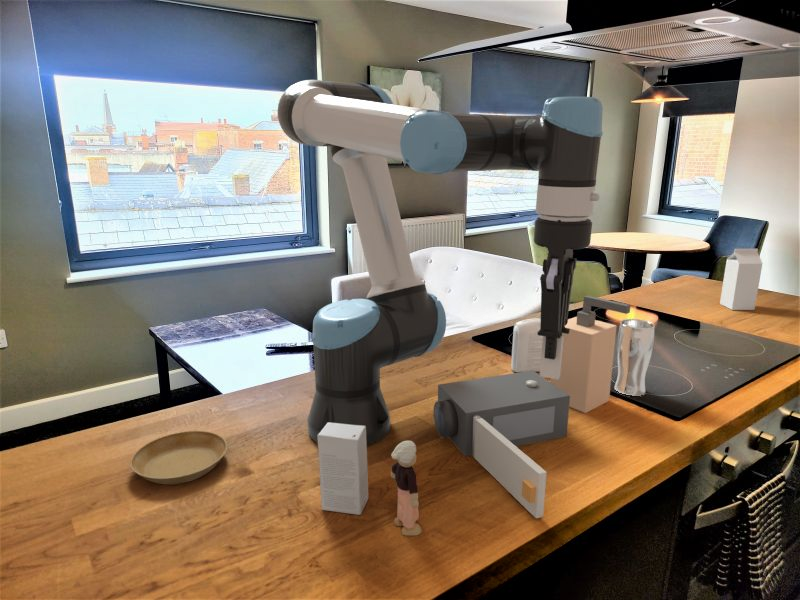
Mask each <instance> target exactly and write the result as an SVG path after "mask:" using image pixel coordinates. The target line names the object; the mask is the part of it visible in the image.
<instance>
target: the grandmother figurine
mask: <svg viewBox="0 0 800 600" xmlns="http://www.w3.org/2000/svg"><path fill="white" fill-rule="evenodd" d="M416 452H417V445H416V444H415V442H414V441H412V440H403V441H401V442H400V443H398V444H397V445H396V446H395V448H394V450H393V451H392V452H391V455H390V456H391V457H392V459H393V460H397V461H396V462H395V463H394V464H392V465H391V472H390V477H391V478H392V479H395V484H396V486H397V512H396V513H397V517H395V518H394V520H393V523H394V524H395V526H397V527H402V528H401V534H402V535H404V536H407V537H409V536H420V535H421V534H422V532H423V530H422V527H421V525H420V524H419V523H418V522H416V521H418V520H419V518H420V514H419V513H420V512H419V487H418V483H417V482H418V481H417V472H416V471H415V468H414V467H413V466H414V465H415V464H416V461H417V454H416Z"/></svg>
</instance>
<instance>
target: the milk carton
mask: <svg viewBox="0 0 800 600" xmlns="http://www.w3.org/2000/svg"><path fill="white" fill-rule="evenodd" d="M762 270H763V262H762V258H761V257H760V255H759V249H758V248H734V251H733V253H732V254H731V255H729V256H728V257H727V258H726V263H725V268H724V273H723V282H722V288H721V293H720V300H719V304H720V305H722V306H724V307H725V308H728V309H729V310H731V311H755V309H756V303H757V298H758V292H759V285H760V281H761V274H762Z"/></svg>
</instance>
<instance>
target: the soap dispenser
mask: <svg viewBox="0 0 800 600" xmlns="http://www.w3.org/2000/svg"><path fill="white" fill-rule="evenodd" d="M592 307H597V308H600V309H604V310H608V311H609V310H610V311H613V312H617V313H621V314H626V315H627V314H630V313H631V312H630V311H631V304H627V303H623V302H618V301H614V300H610V299H606V298H600V297H596V296H591V295H585V296H583V301H582V310H580V311H577V315H576V316H574V317H572V318H568V319H567V320H568V323H567V325H565V328H569V329H570V332H569V334H566V333H562V335H564V340H563V350H562V361H561V372H560V377H559V379H558V380H557V379H552V378H550V382H551V383H552V384H554V385H555V386H557V387H558V388H560V389H561V390H562V391H564V392H565V393H567V394H568V395H570V402H569V408H571V409H574V410H576V411H579V412H581V413H584V414H586V413H589V412H590V411H592V410H594V409H597V408H598V407H600V406H602V405H604V404H605V403H608V402H609V400H610V395H611V385H612V384H611V383H612V374H613V363H614V355H615V354H614V353H615V348H616V346H615V345H616V336H617V334H616V333H617V325H616V324H612V323H609V322H604V321H602V320H596V312H595V311H592Z"/></svg>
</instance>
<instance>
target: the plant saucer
mask: <svg viewBox="0 0 800 600" xmlns="http://www.w3.org/2000/svg"><path fill="white" fill-rule="evenodd" d="M227 449H228V442H227V440H226V439H225V438H224V437H223V436H221V435H220V434H218V433H215V432H212V431H206V430H205V431H204V430H187V431H179V432H174V433H170V434H166V435H163V436H161V437H158V438H156V439H154V440H151V441H149V442H147V443H146V444H144V445H142V446H141V447H140V448H139V449H137V451H135V452H134V454H133V455H132V457H131V459H130V469H131V470H132V471H133V472H134V473H135V474H137V475H138V476H139V477H141V478H143V479H145V480H147V481H149V482H151V483H155V484H160V485H166V486H167V485H179V484H185V483H188V482H190V481H194V480H197V479H199V478H201V477H203V476H205V475H206V474H207V473H210V472H211V471H212V470H213V469H214V468H215V467H216V466H217V465H218V464H219V463H220V462H221V460H222V459H223V457H224V456H225V454H226V452H227Z"/></svg>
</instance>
